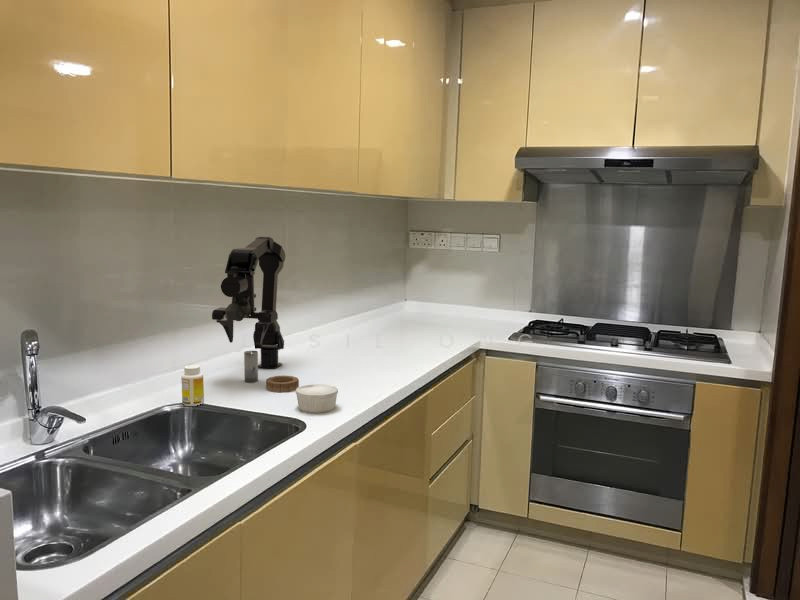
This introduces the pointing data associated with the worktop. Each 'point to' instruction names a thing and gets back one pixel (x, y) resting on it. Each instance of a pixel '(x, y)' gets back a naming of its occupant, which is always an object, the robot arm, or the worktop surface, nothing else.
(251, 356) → the grey metal peg
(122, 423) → the worktop surface
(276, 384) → the brown segmented ring
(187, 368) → the supplement bottle
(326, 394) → the ramekin
